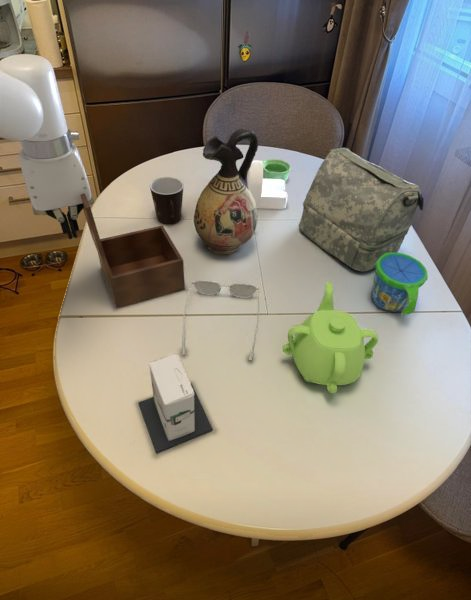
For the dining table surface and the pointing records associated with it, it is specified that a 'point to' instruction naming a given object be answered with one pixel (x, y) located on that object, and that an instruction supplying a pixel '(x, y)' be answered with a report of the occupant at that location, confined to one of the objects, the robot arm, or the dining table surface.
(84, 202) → the lid
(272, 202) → the bracket
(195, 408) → the mat
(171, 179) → the coffee mug
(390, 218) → the lunch bag
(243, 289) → the eyeglasses
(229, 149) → the ceramic jug
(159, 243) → the chest
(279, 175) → the ramekin
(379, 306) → the sippy cup
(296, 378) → the dining table surface
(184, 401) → the ink box
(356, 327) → the teapot
